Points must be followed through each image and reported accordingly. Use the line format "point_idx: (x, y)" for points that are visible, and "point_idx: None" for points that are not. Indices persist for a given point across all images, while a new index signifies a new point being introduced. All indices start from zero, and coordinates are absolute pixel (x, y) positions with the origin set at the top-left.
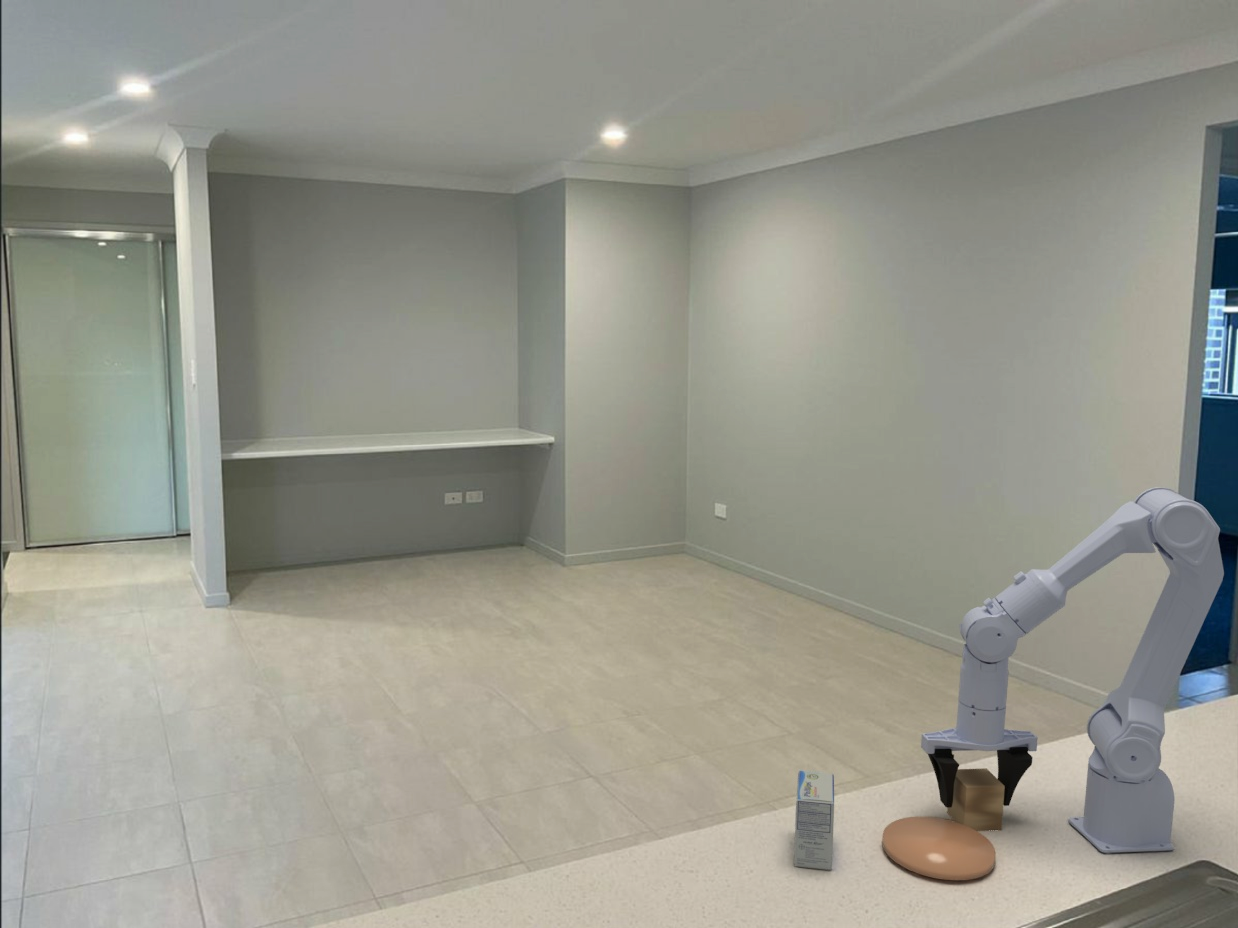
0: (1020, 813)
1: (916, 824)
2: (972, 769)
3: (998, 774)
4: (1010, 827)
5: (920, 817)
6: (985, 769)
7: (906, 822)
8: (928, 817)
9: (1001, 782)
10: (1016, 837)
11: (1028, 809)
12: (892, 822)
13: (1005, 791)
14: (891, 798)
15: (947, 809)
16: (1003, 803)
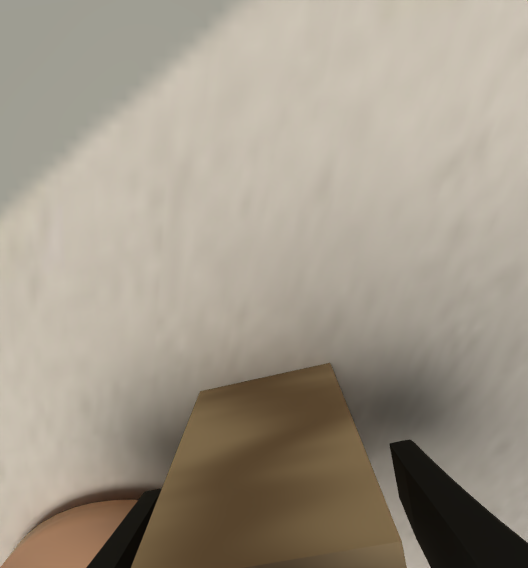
0: (459, 360)
1: (77, 566)
2: (287, 564)
3: (462, 546)
4: (388, 453)
5: (88, 530)
6: (386, 556)
7: (45, 562)
8: (114, 524)
9: (446, 549)
10: (387, 503)
11: (503, 326)
12: (3, 565)
13: (435, 562)
14: (9, 328)
15: (198, 399)
16: (400, 496)
